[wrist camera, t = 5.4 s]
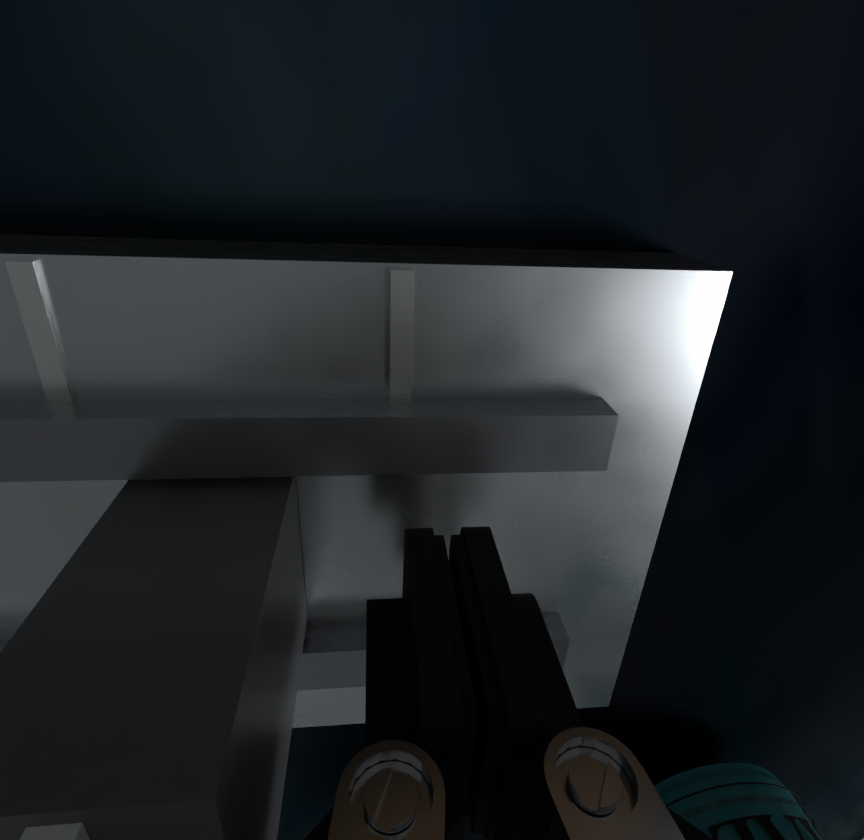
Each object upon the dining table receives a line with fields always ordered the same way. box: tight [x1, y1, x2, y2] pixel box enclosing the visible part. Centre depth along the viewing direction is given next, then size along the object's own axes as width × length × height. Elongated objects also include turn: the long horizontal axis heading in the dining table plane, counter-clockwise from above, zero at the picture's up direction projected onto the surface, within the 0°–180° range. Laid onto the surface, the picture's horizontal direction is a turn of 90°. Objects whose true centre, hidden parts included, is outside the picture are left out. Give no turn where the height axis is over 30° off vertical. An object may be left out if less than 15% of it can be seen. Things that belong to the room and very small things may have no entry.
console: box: [0, 234, 733, 728], centre depth 11 cm, size 12×26×4 cm, turn 88°
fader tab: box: [0, 477, 307, 840], centre depth 8 cm, size 4×3×6 cm
